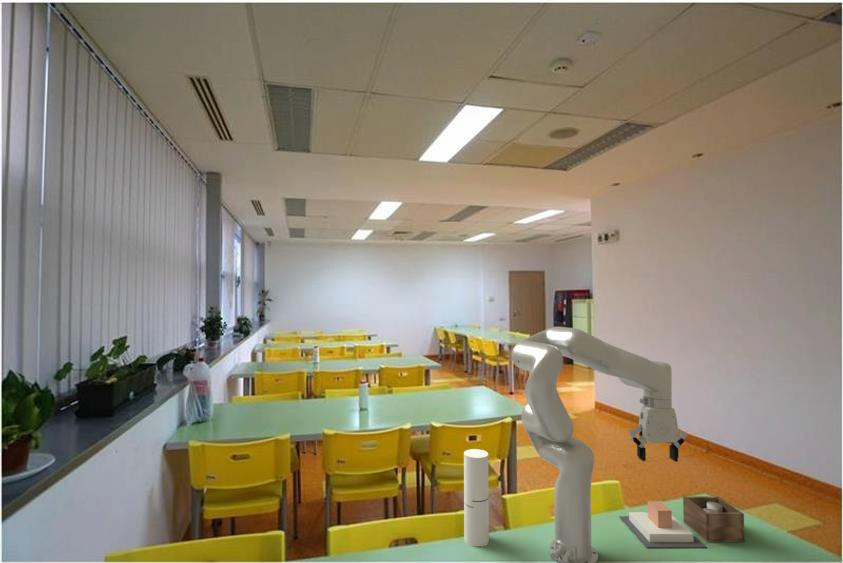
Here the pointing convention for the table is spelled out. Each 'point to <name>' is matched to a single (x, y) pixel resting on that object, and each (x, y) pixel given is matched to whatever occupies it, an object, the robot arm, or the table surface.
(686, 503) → the box
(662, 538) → the lid
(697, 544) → the mat
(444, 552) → the table surface
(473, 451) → the cylindrical container
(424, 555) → the table surface
